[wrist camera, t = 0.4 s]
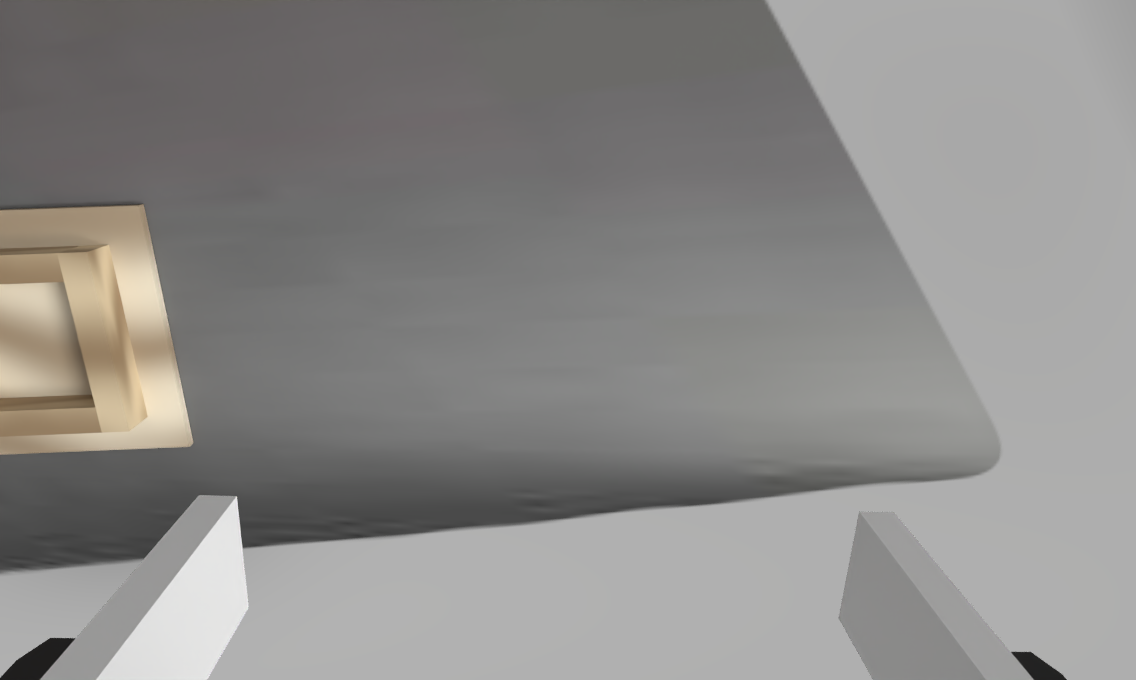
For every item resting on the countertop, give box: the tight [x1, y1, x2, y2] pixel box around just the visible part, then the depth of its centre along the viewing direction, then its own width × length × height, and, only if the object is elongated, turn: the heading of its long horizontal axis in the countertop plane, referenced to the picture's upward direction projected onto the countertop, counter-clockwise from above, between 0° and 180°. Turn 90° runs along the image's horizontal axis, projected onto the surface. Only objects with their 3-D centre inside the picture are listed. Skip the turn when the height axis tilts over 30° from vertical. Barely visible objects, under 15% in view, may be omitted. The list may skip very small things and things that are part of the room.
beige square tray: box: [0, 204, 193, 455], centre depth 40 cm, size 14×14×2 cm
